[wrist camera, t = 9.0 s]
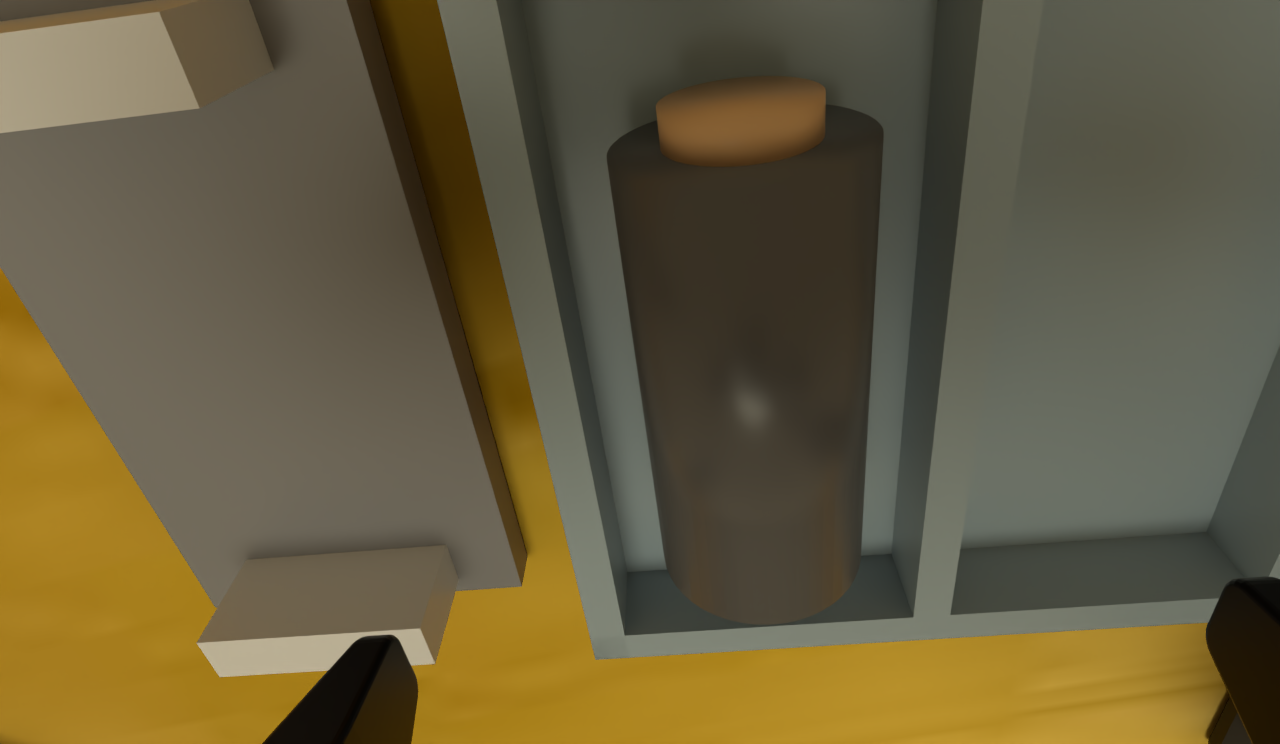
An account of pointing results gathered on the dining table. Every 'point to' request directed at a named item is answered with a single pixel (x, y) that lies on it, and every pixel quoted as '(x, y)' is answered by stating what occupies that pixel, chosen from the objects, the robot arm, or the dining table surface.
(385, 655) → the robot arm
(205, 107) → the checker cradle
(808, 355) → the battery cell
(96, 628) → the dining table surface
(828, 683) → the dining table surface
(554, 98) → the cell tray
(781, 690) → the dining table surface
